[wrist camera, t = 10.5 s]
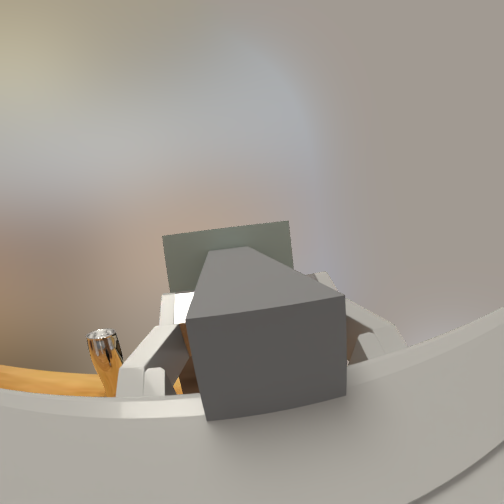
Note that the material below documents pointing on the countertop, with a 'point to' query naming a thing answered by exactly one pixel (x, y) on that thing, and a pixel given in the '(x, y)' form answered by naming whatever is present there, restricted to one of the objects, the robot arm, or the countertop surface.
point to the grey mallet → (257, 321)
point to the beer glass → (106, 357)
